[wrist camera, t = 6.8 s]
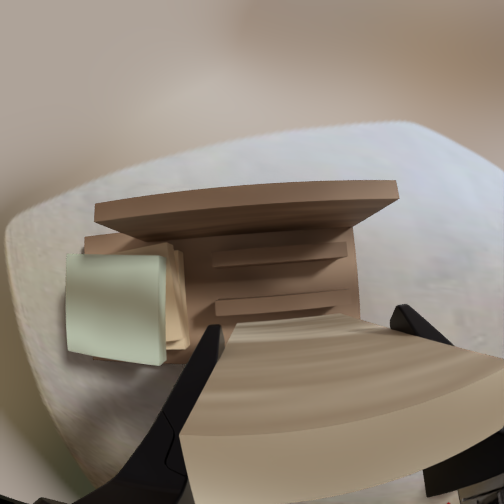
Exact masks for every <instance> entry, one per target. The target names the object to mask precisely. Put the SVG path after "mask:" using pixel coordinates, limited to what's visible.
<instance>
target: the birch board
mask: <svg viewBox="0 0 504 504" xmlns="http://www.w3.org/2000/svg"><path fill="white" fill-rule="evenodd" d="M503 426H504V359H502V358H498V357H494V356H490V355H486V354H482V353H478V352H474V351H470V350H466V349H462V348H458V347H455V346H451V345H447V344H443V343H440V342H436V341H432V340H429V339H425V338H422V337H418V336H414V335H410V334H406V333H403V332H399V331H396V330H393V329H390V328H387V327H383V326H380V325H376V324H373V323H370V322H366V321H363V320H360V319H356V318H353V317H350V316H347V315H343V314H340V313H339V314H331V315H322V316H313V317H304V318H294V319H283V320H272V321H259V322H245V323H237V324H236V326H235V328H234V330H233V332H232V334H231V336H230V338H229V340H228V342H227V344H226V346H225V349H224V351H223V353H222V355H221V357H220V359H219V361H218V362H217V364H216V365H215V367H214V369H213V371H212V373H211V375H210V377H209V379H208V381H207V383H206V385H205V387H204V389H203V390H202V392H201V394H200V396H199V398H198V400H197V402H196V404H195V406H194V408H193V409H192V411H191V413H190V415H189V417H188V419H187V421H186V423H185V424H184V426H183V428H182V430H181V432H180V434H179V437H180V442H181V447H182V452H183V456H184V461H185V465H186V470H187V474H188V478H189V482H190V486H191V490H192V494H193V497H194V501H195V504H286V503H295V502H303V501H310V500H316V499H322V498H327V497H333V496H338V495H342V494H347V493H351V492H355V491H359V490H363V489H367V488H370V487H374V486H377V485H381V484H384V483H387V482H390V481H393V480H396V479H399V478H402V477H405V476H408V475H410V474H413V473H416V472H418V471H421V470H423V469H426V468H428V467H430V466H433V465H435V464H437V463H440V462H442V461H444V460H446V459H448V458H450V457H452V456H454V455H456V454H458V453H460V452H462V451H464V450H466V449H468V448H470V447H472V446H474V445H475V444H477V443H479V442H481V441H482V440H484V439H486V438H487V437H489V436H491V435H492V434H494V433H496V432H497V431H499V430H500V429H502V428H503Z"/></svg>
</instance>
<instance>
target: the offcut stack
mask: <svg viewBox="0 0 504 504" xmlns="http://www.w3.org/2000/svg"><path fill="white" fill-rule="evenodd" d="M65 303H66V332H67V346H68V351H72V352H77V353H81V354H86V355H91V356H97V357H102V358H108V359H114V360H120V361H126V362H133V363H140V364H148V365H156V366H160V365H161V364H162V363H164V362H165V361H166V360H167V359H166V349H186V348H188V347H189V346H190V338H189V328H188V317H187V305H186V292H185V276H184V259H183V252H181V251H179V250H174V249H173V245H172V244H169V243H167V242H166V243H161V244H156V245H151V246H146V247H141V248H136V249H131V250H127V251H122V252H117V253H112V254H108V255H102V254H67V258H66V287H65Z"/></svg>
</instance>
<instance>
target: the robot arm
mask: <svg viewBox="0 0 504 504" xmlns="http://www.w3.org/2000/svg"><path fill="white" fill-rule="evenodd" d="M390 328H391V329H393V330H396V331H399V332H403V333H406V334H410V335H414V336H418V337H422V338H425V339H429V340H432V341H436V342H440V343H443V344H447V345H451V346H454V345H453V344H452V343H451V342H450V341H449V340H448V339H446V338H445V337H444V336H443V335H442V334H441V333H440V332H439V331H438V330H437V329H435V328H434V327H433V326H432V325H431V324H430V323H429V322H428V321H426V320H425V319H424V318H423V317H422V316H421V315H420V314H418V313H417V312H416V311H415V310H414V309H413V308H411V307H410V306H409V305H407V304H402V305H397V306H396V308H395V310H394V312H393V315H392V317H391V319H390ZM224 349H225V340H224V335H223V331H222V327H221V325H220V324H212V325H208V326H207V328H206V330H205V332H204V333H203V335H202V337H201V339H200V341H199V342H198V344H197V346H196V348H195V350H194V351H193V353H192V355H191V357H190V359H189V361H188V362H187V364H186V366H185V368H184V370H183V371H182V373H181V375H180V377H179V379H178V380H177V382H176V384H175V386H174V388H173V390H172V391H171V393H170V395H169V397H168V399H167V401H166V402H165V404H164V406H163V408H162V410H163V411H162V410H161V411H160V413H159V415H158V417H157V419H156V420H155V422H154V424H153V425H152V427H151V429H150V430H149V432H148V434H147V435H146V436H145V438H144V439H143V441H142V442H141V444H140V445H139V446H138V448H137V449H136V450H135V452H134V453H133V454H132V456H131V457H130V458H129V460H128V461H127V463H126V464H125V465H124V467H123V468H122V469H121V470H120V472H119V473H118V474H117V475H116V476H115V477H114V478H113V479H111V480H110V481H109V482H107V483H106V484H104V485H103V486H101V487H99V488H98V489H96V490H94V491H93V492H91V493H89V494H88V495H86V496H84V497H83V498H81V499H79V500H77V501H76V502H74V503H72V504H195V501H194V497H193V494H192V490H191V486H190V482H189V478H188V474H187V470H186V465H185V461H184V456H183V452H182V447H181V442H180V437H179V434H180V432H181V430H182V428H183V426H184V424H185V423H186V421H187V419H188V417H189V415H190V413H191V411H192V409H193V408H194V406H195V404H196V402H197V400H198V398H199V396H200V394H201V392H202V390H203V389H204V387H205V385H206V383H207V381H208V379H209V377H210V375H211V373H212V371H213V369H214V367H215V365H216V364H217V362H218V361H219V359H220V357H221V355H222V353H223V351H224ZM423 475H424V482H425V489H426V496H427V497H432V496H436V495H440V494H444V493H448V492H451V491H455V490H458V495H459V500H460V504H504V426H503V428H502V429H500V430H499V431H497V432H496V433H494V434H492V435H491V436H489V437H487V438H486V439H484V440H482V441H481V442H479V443H477V444H475V445H474V446H472V447H470V448H468V449H466V450H464V451H462V452H460V453H458V454H456V455H454V456H452V457H450V458H448V459H446V460H444V461H442V462H440V463H437V464H435V465H433V466H430V467H428V468H426V469H423ZM0 504H27V503H24V502H21V501H18V500H15V499H12V498H9V497H6V496H3V495H0ZM33 504H67V503H63V502H58V501H55V500H51V499H47V498H42V497H41V498H39V499H38V500H37V501H35V502H34V503H33Z"/></svg>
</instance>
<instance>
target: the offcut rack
mask: <svg viewBox="0 0 504 504" xmlns="http://www.w3.org/2000/svg"><path fill="white" fill-rule="evenodd" d="M398 199H399V194H398V188H397V183H396V180H344V181H309V182H287V183H270V184H255V185H242V186H230V187H218V188H208V189H198V190H189V191H180V192H172V193H164V194H156V195H149V196H141V197H134V198H128V199H121V200H115V201H109V202H102V203H97V204H95V214H94V222H96V223H98V224H101V225H103V226H106V227H108V228H111V229H113V230H116V231H118V232H121V233H113V234H105V235H96V236H88V237H85V245H84V254H102V255H108V254H112V253H117V252H122V251H127V250H131V249H136V248H141V247H146V246H151V245H156V244H161V243H166V242H167V243H169V244H172V245H173V249H174V250H179V251H181V252H183V259H184V276H185V292H186V305H187V317H188V328H189V338H190V346H189V347H188V348H186V349H166V359H167V360H166V361H165V362H164V363H162V364H187V362H188V361H189V359H190V357H191V355H192V353H193V351H194V350H195V348H196V346H197V344H198V342H199V341H200V339H201V337H202V335H203V333H204V332H205V330H206V328H207V326H208V325H212V324H220V325H221V327H222V331H223V335H224V340H225V346H226V344H227V342H228V340H229V338H230V336H231V334H232V332H233V330H234V328H235V326H236V324H237V323H245V322H259V321H272V320H283V319H294V318H304V317H313V316H322V315H331V314H339V313H340V314H343V315H347V316H350V317H353V318H356V319H360V303H359V287H358V274H357V263H356V253H355V244H354V235H353V226H355V225H356V224H358V223H360V222H361V221H363V220H365V219H366V218H368V217H370V216H371V215H373V214H375V213H376V212H378V211H380V210H381V209H383V208H385V207H386V206H388V205H390V204H391V203H393V202H395V201H396V200H398ZM93 360H103V361H116V362H126V361H120V360H114V359H108V358H102V357H97V356H93Z"/></svg>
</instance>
